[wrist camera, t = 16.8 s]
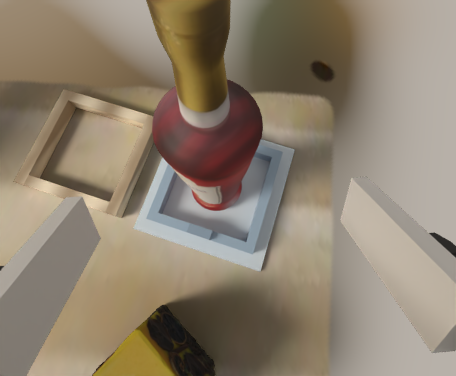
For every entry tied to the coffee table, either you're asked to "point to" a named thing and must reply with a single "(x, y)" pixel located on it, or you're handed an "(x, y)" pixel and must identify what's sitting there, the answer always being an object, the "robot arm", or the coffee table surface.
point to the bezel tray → (225, 219)
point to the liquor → (203, 103)
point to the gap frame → (53, 133)
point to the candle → (158, 351)
